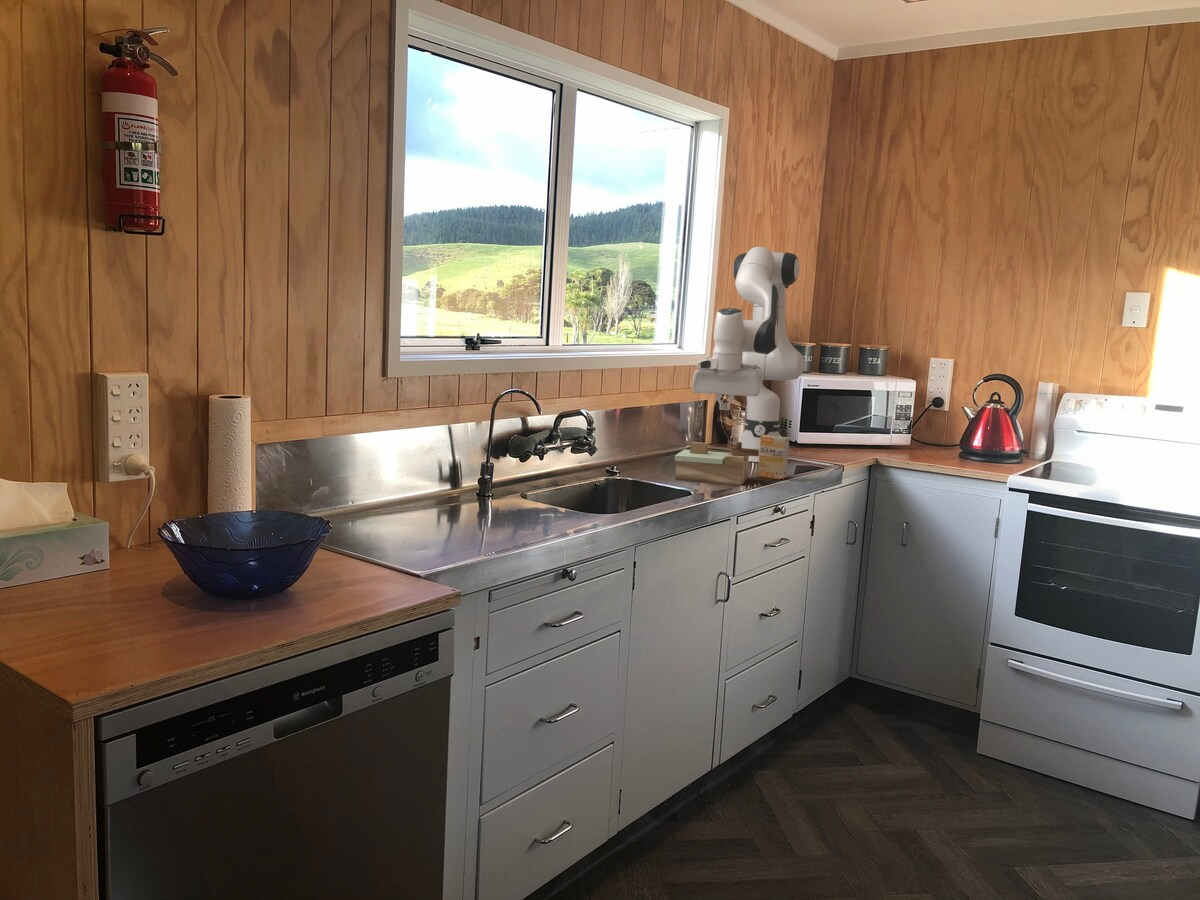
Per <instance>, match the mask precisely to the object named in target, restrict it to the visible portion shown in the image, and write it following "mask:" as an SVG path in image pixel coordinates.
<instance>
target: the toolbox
mask: <svg viewBox="0 0 1200 900" xmlns="http://www.w3.org/2000/svg"><path fill="white" fill-rule="evenodd" d="M728 453H729V454H728V455H726V456H725V462H724V463H723V464H712V463H700V462H687V461H675V479H674V480H675V481H683V480H685V481H686V482H695V483H707V484H719V485H731V486H742V485H743V484H744V483H745V482H746V481H747V480H748V477H749V476H748V475H749V461H748V460H749V456H746V455H733V454H731V451H730V452H728Z"/></svg>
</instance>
